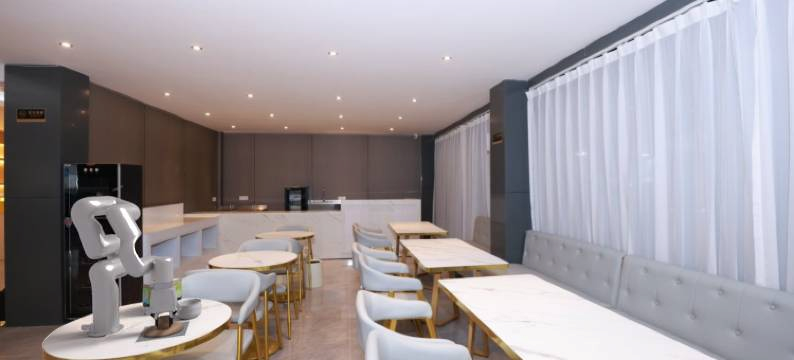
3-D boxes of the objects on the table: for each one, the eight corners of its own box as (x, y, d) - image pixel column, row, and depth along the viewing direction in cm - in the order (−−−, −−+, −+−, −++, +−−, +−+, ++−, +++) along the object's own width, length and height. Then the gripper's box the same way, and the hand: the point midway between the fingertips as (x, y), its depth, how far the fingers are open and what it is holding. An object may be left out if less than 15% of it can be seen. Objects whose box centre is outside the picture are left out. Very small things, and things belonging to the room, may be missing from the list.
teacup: (191, 322, 185) (191, 305, 185) (171, 321, 187) (170, 304, 187) (210, 312, 198) (210, 296, 198) (192, 311, 200) (191, 295, 200)
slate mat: (135, 343, 162) (135, 342, 162) (145, 328, 178) (145, 326, 178) (184, 336, 168) (184, 335, 168) (189, 322, 185) (189, 321, 185)
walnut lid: (140, 340, 164) (140, 325, 164) (148, 327, 178) (147, 313, 178) (181, 334, 169) (181, 320, 169) (185, 322, 183) (185, 309, 183)
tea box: (157, 315, 195) (157, 285, 195) (142, 313, 198) (141, 284, 198) (182, 305, 209) (182, 278, 209) (167, 304, 212) (167, 276, 212)
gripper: (139, 289, 167) (140, 333, 167) (184, 285, 173) (184, 327, 173) (143, 285, 174) (143, 326, 174) (186, 281, 180) (186, 321, 180)
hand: (164, 326), depth 173 cm, fingers closed on walnut lid, 4 cm apart
